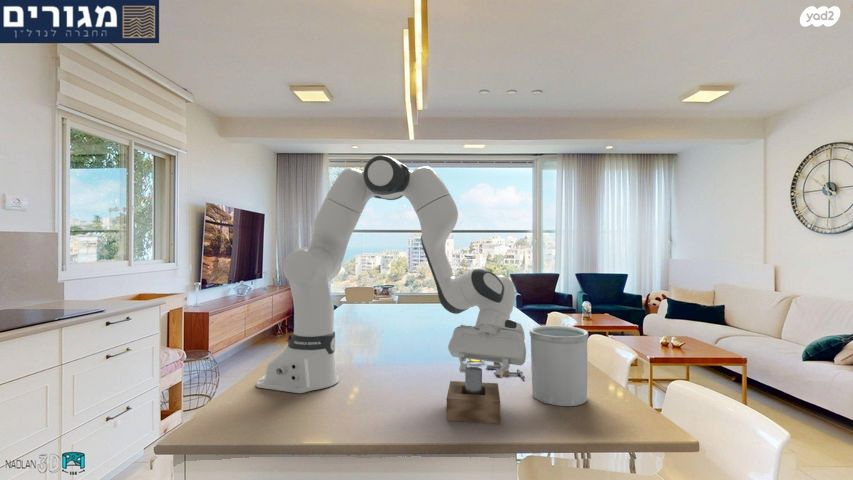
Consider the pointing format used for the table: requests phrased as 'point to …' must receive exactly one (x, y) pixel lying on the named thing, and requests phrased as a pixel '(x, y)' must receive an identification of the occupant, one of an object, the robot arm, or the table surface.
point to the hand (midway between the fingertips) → (480, 374)
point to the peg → (473, 381)
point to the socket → (473, 404)
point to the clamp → (506, 373)
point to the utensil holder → (559, 364)
